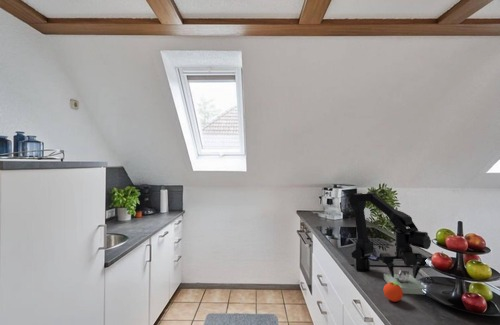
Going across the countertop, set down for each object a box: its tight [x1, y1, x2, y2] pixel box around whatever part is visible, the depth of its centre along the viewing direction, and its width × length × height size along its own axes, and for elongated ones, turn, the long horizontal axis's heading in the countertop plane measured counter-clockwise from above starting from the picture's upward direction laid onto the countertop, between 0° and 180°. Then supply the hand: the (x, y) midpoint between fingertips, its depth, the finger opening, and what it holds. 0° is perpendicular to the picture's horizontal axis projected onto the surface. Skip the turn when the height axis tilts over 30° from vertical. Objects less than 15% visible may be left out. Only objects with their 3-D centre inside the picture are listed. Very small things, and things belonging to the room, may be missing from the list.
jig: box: [383, 273, 428, 295], centre depth 117 cm, size 12×14×2 cm
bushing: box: [397, 268, 410, 284], centre depth 117 cm, size 4×4×7 cm
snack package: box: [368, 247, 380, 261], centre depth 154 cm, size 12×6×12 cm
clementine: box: [383, 282, 404, 303], centre depth 105 cm, size 8×7×7 cm
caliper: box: [402, 261, 430, 278], centre depth 133 cm, size 20×1×6 cm, turn 1°
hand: (403, 277), depth 117 cm, fingers open, 9 cm apart
